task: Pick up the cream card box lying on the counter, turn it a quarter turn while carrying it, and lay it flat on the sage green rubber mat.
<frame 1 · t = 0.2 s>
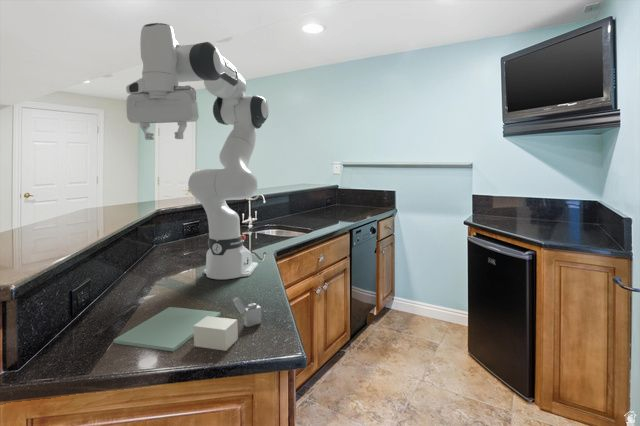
hand: (164, 139, 100), 48 cm above the worktop, tool pointing down, fingers open, 8 cm apart
mat: (171, 327, 91), on the worktop
lighter: (247, 326, 93), on the worktop
card box: (216, 343, 84), on the worktop
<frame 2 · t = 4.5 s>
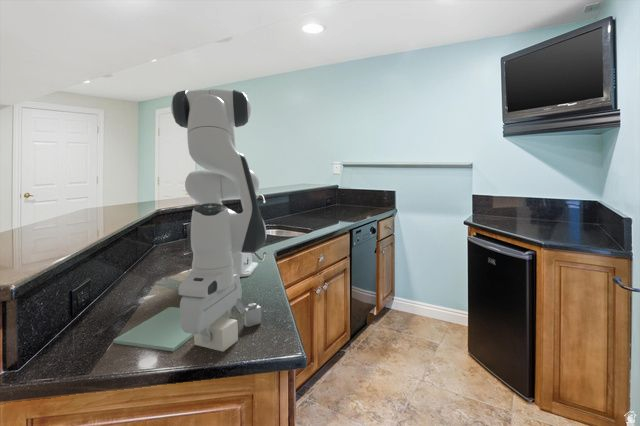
hand: (216, 334, 83), 2 cm above the worktop, tool pointing down, fingers closed on card box, 6 cm apart
card box: (216, 342, 84), on the worktop, touching gripper
everything else where it was.
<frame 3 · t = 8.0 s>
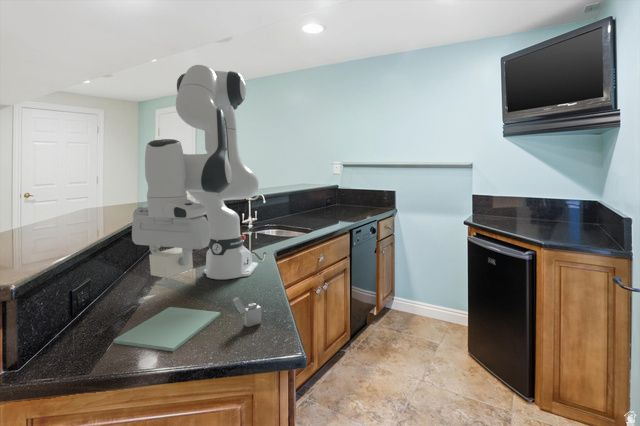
hand: (171, 264, 89), 17 cm above the worktop, tool pointing down, fingers closed on card box, 6 cm apart
card box: (172, 271, 89), point 15 cm above the worktop, touching gripper
everything else where it was.
when the fingers open (4 cm above the worktop, at t = 11.6 s): card box drops 1 cm, resting on mat.
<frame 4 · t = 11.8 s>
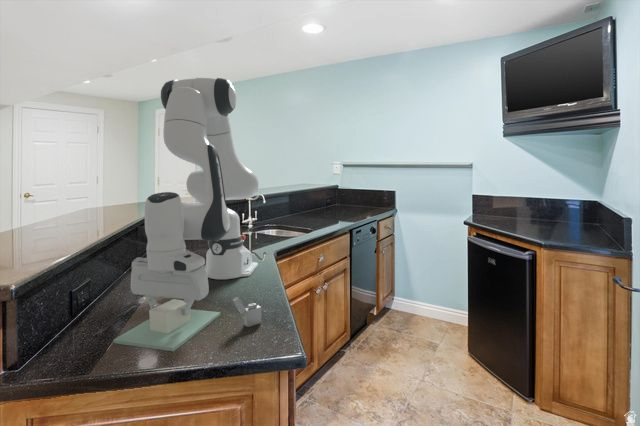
hand: (170, 313, 91), 4 cm above the worktop, tool pointing down, fingers open, 8 cm apart
card box: (171, 324, 91), point 1 cm above the worktop, touching mat
everything else where it was.
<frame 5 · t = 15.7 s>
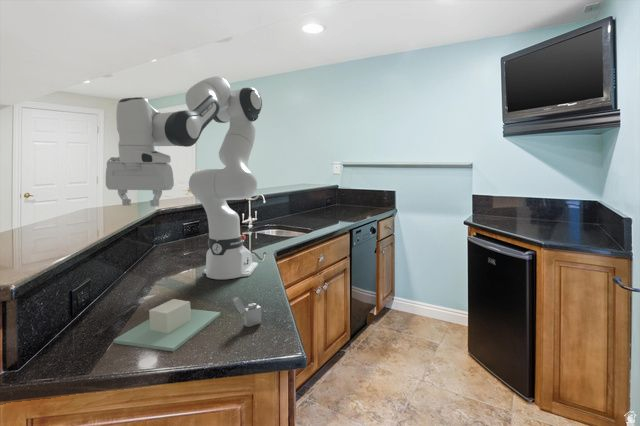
hand: (140, 206, 103), 29 cm above the worktop, tool pointing down, fingers open, 8 cm apart
nothing on the worktop moved.
at the end: card box inside the target area on the mat (0.0 cm from its centre), point 0.8 cm above the mat's base; card box tilted 0°; the gripper is holding nothing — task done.
